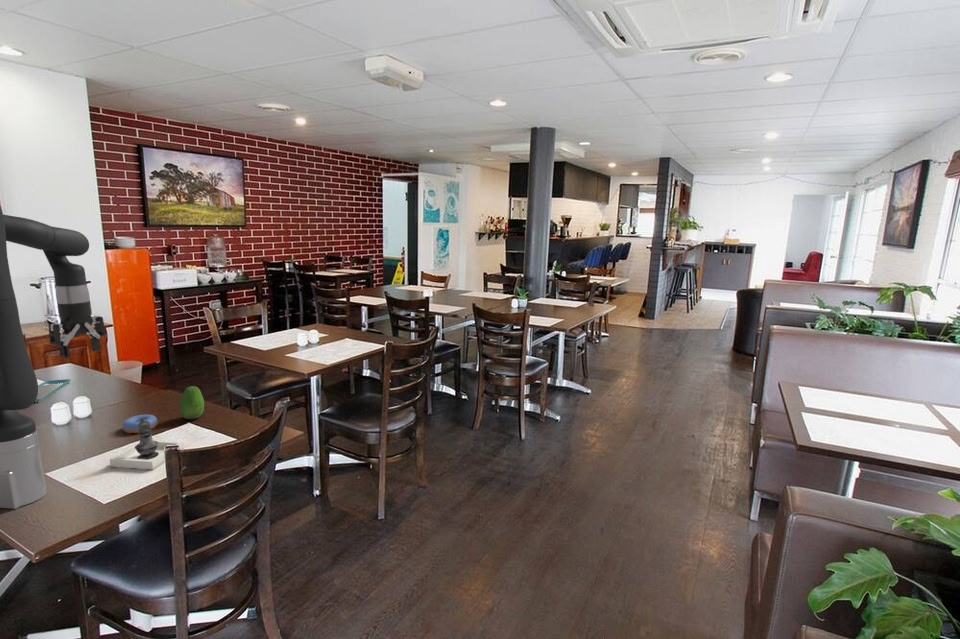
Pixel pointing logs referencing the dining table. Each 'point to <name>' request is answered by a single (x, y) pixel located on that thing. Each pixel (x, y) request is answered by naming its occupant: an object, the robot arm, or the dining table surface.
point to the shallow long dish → (54, 389)
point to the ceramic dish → (130, 459)
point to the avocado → (191, 403)
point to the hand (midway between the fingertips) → (81, 354)
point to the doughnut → (132, 423)
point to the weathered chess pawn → (146, 442)
